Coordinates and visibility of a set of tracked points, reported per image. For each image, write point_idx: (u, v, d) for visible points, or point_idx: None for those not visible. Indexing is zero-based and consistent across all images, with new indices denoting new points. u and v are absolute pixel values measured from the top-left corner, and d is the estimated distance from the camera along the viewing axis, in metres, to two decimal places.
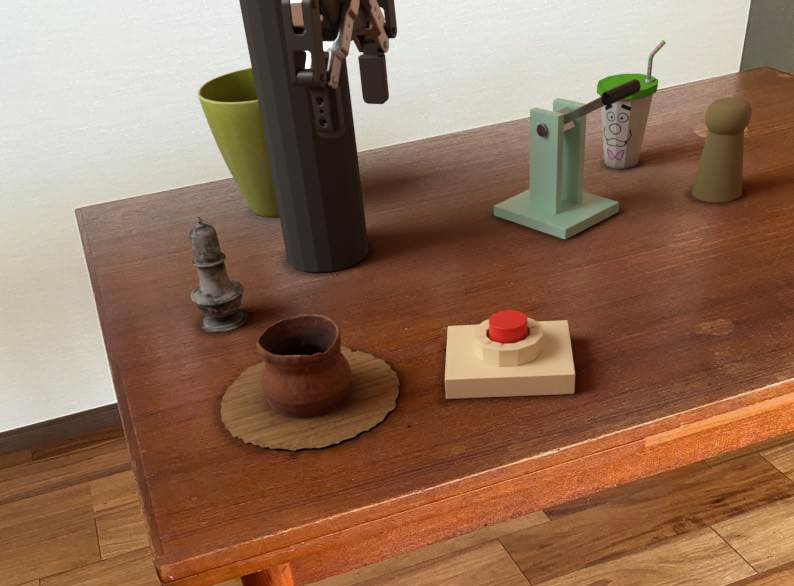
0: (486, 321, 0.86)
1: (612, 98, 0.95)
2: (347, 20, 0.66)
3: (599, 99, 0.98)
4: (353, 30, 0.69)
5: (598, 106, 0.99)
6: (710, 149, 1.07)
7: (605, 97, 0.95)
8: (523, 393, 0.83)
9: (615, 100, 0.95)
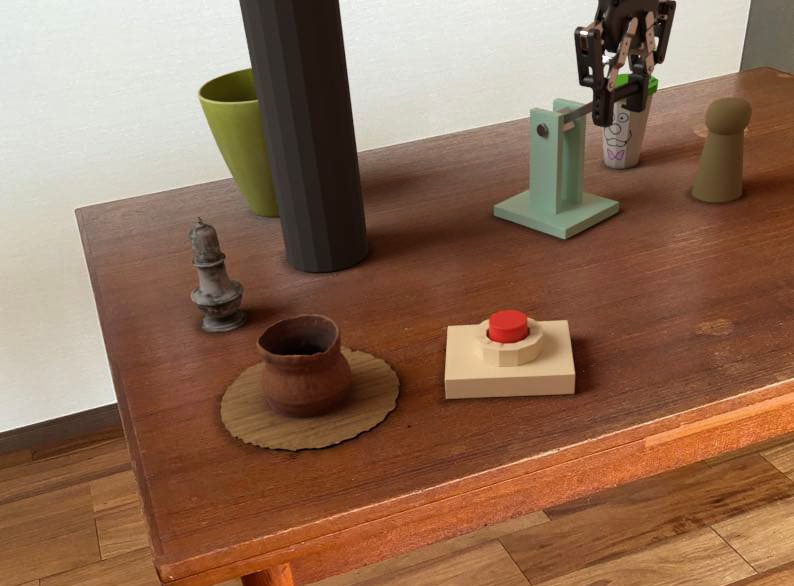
0: (486, 321, 0.86)
1: None
2: (624, 41, 0.91)
3: None
4: (629, 45, 0.92)
5: None
6: (710, 149, 1.07)
7: None
8: (523, 393, 0.83)
9: (615, 100, 0.95)
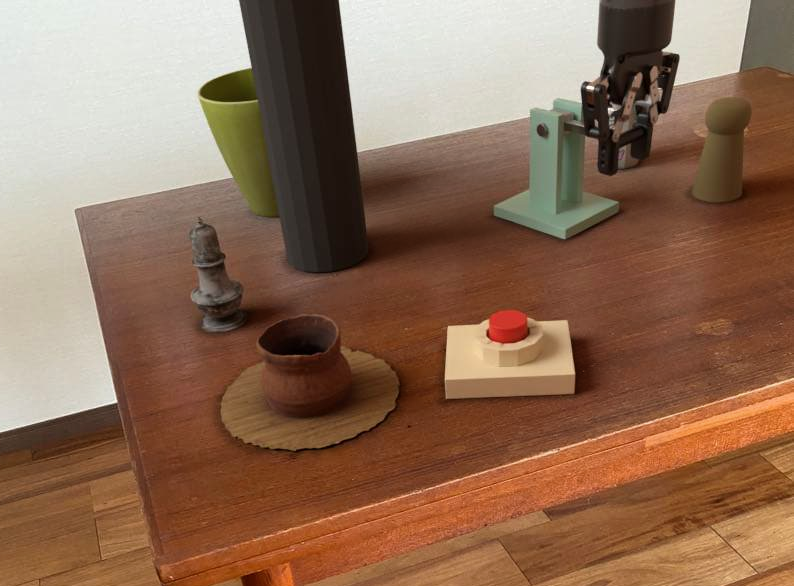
0: (486, 321, 0.86)
1: None
2: (629, 95, 0.93)
3: None
4: None
5: None
6: (710, 149, 1.07)
7: None
8: (523, 393, 0.83)
9: (619, 148, 0.98)
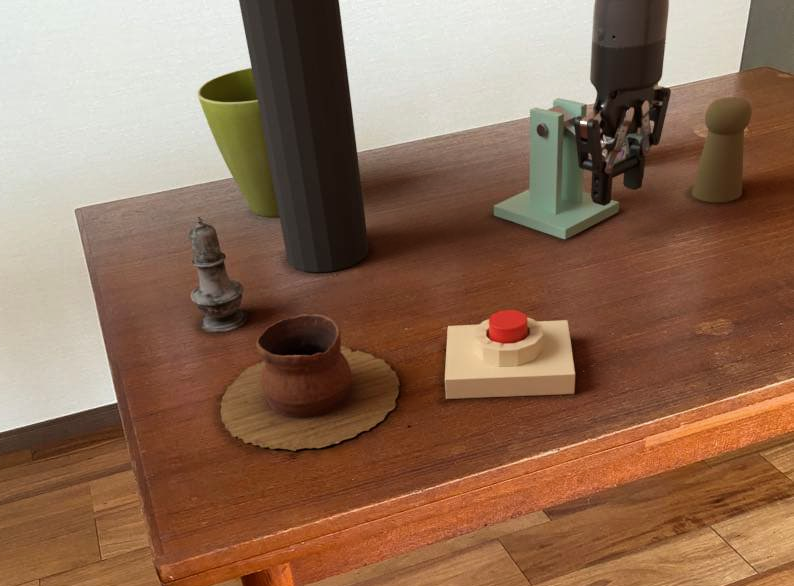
0: (486, 321, 0.86)
1: None
2: (622, 128, 0.96)
3: None
4: (626, 131, 0.98)
5: None
6: (710, 149, 1.07)
7: None
8: (523, 393, 0.83)
9: None
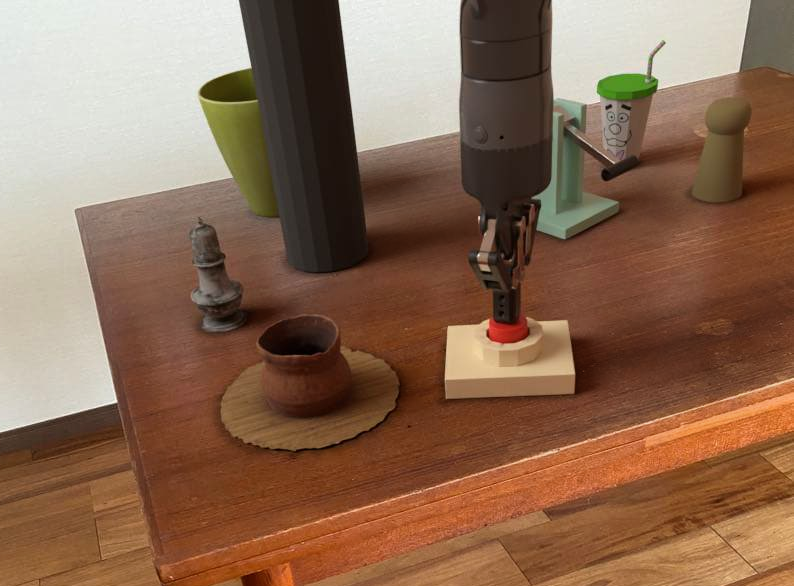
0: (486, 321, 0.86)
1: (609, 180, 1.00)
2: (519, 243, 0.76)
3: (601, 155, 1.02)
4: None
5: (596, 158, 1.02)
6: (710, 149, 1.07)
7: (606, 173, 1.00)
8: (523, 393, 0.83)
9: (611, 179, 1.01)
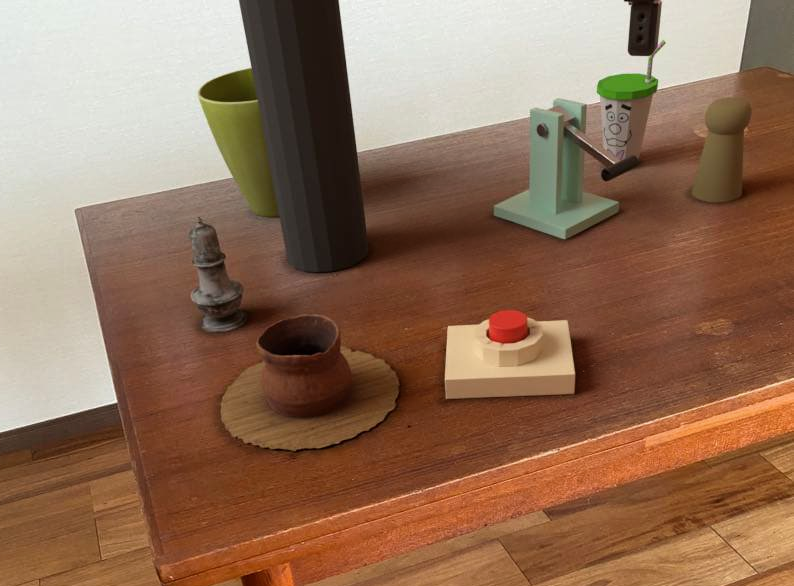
0: (486, 321, 0.86)
1: (609, 180, 1.00)
2: None
3: (601, 155, 1.02)
4: None
5: (596, 158, 1.02)
6: (710, 149, 1.07)
7: (606, 173, 1.00)
8: (523, 393, 0.83)
9: (611, 179, 1.01)
